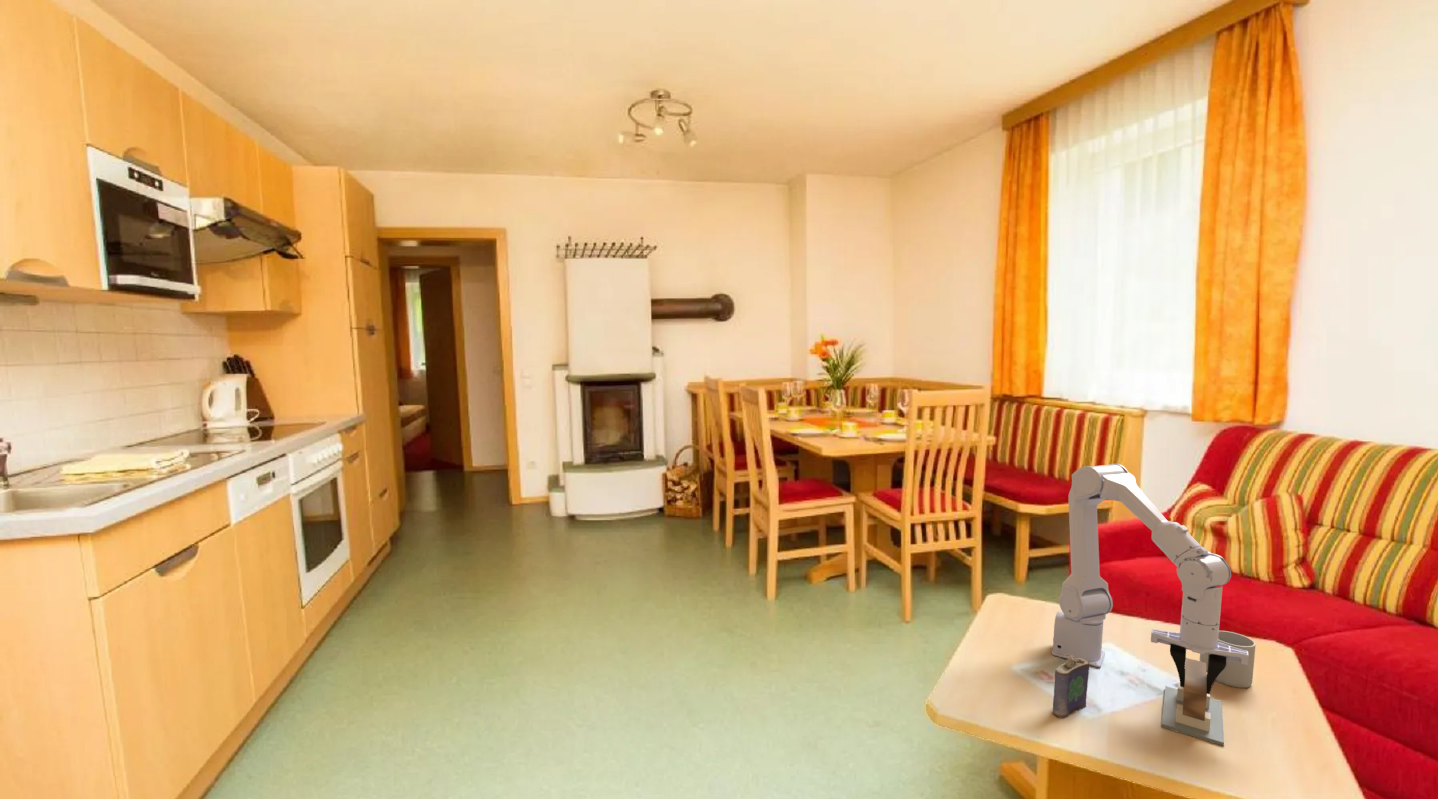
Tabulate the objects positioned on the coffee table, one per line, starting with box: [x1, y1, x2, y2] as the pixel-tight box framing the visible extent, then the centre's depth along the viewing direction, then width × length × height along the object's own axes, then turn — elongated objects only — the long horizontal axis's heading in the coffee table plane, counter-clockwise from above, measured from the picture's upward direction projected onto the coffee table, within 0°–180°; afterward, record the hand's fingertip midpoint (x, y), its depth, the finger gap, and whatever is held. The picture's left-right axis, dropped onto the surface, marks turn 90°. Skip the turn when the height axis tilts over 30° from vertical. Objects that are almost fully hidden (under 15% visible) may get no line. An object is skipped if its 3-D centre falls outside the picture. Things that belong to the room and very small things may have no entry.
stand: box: [1161, 682, 1225, 746], centre depth 120 cm, size 9×16×3 cm, turn 143°
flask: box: [1052, 654, 1090, 719], centre depth 121 cm, size 9×3×11 cm, turn 121°
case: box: [1183, 657, 1207, 721], centre depth 119 cm, size 3×14×5 cm, turn 143°
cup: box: [1199, 630, 1257, 689], centre depth 132 cm, size 7×10×9 cm
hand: (1194, 688), depth 119 cm, fingers closed on case, 3 cm apart
